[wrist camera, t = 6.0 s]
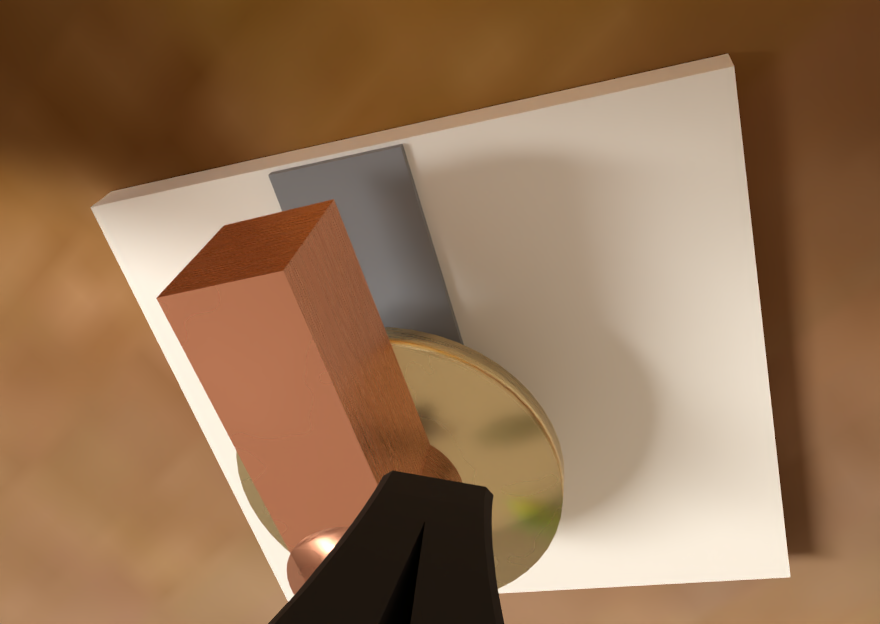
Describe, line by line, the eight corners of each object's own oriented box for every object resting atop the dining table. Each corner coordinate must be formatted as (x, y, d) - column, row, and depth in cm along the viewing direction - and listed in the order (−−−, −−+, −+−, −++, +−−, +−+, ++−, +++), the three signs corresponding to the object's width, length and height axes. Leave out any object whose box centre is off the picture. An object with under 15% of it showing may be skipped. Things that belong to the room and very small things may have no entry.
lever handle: (317, 588, 23) (270, 713, 20) (133, 234, 18) (31, 325, 15) (596, 564, 21) (594, 700, 17) (472, 151, 16) (437, 237, 13)
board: (111, 191, 21) (43, 243, 19) (728, 53, 17) (748, 95, 15) (299, 580, 28) (268, 658, 25) (783, 549, 24) (804, 638, 21)
